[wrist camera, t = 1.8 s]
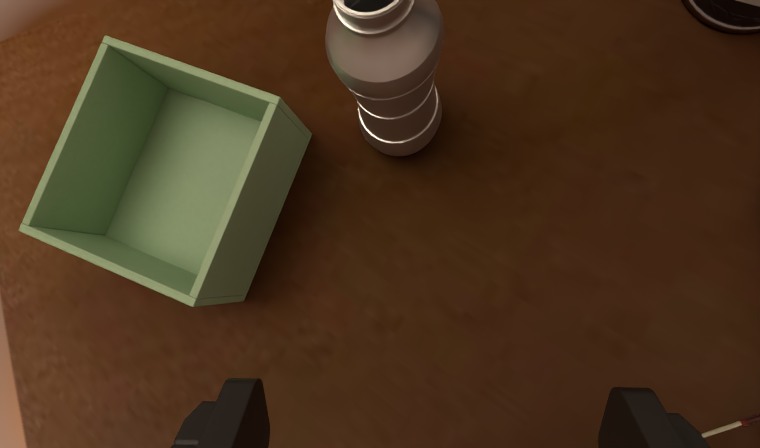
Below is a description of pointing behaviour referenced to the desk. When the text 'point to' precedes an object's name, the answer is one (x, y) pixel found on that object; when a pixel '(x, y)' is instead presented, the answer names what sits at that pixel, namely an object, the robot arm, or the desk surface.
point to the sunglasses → (734, 425)
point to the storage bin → (168, 175)
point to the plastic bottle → (389, 68)
